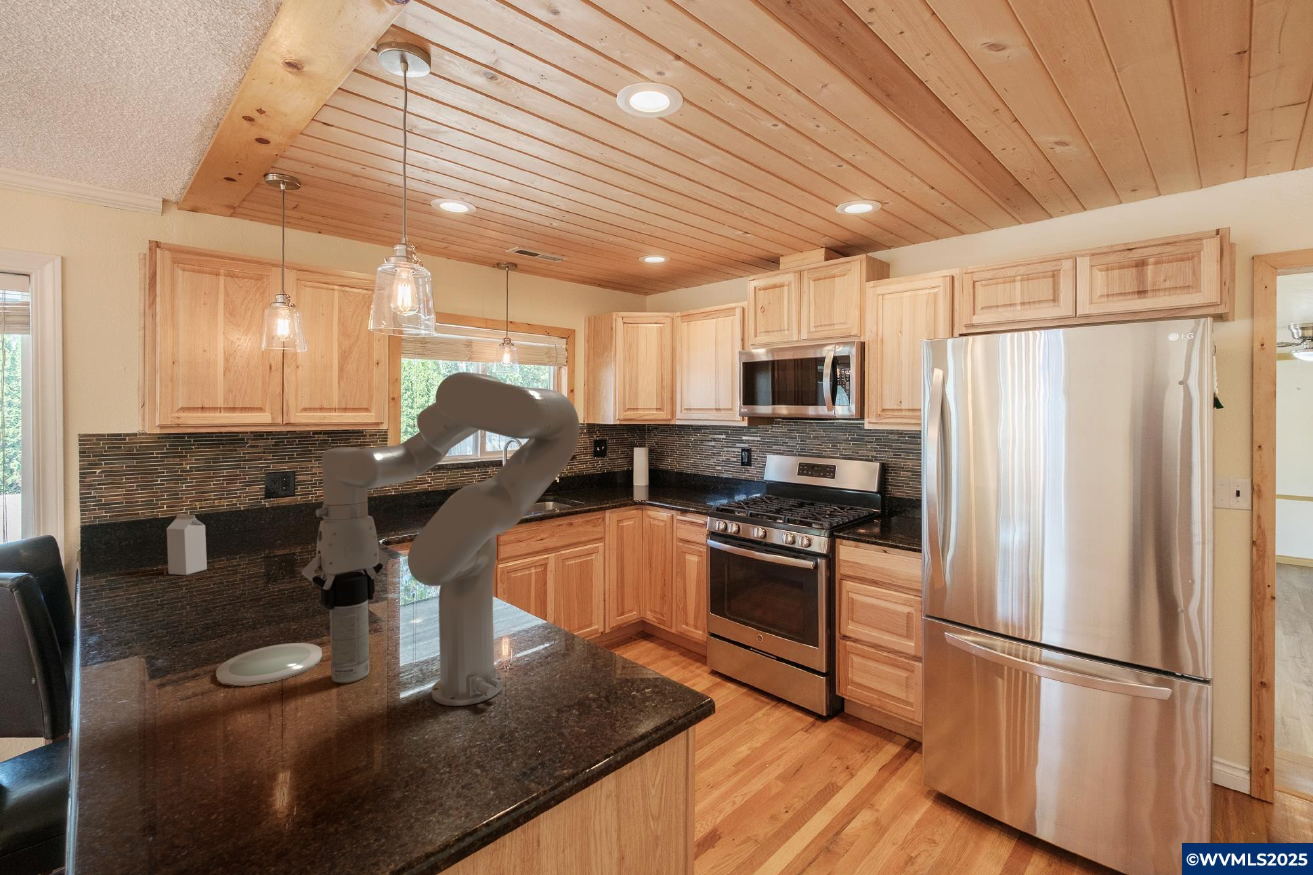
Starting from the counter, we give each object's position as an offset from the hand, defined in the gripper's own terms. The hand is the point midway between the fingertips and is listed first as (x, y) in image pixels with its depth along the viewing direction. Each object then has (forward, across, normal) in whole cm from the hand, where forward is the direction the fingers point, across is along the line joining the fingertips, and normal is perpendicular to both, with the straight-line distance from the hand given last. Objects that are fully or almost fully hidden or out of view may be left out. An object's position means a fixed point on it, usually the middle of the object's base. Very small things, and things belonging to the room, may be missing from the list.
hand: (348, 602), depth 114 cm
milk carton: (+15, +1, +123) cm, 124 cm away
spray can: (+15, 0, 0) cm, 15 cm away
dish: (+15, -8, +18) cm, 25 cm away
